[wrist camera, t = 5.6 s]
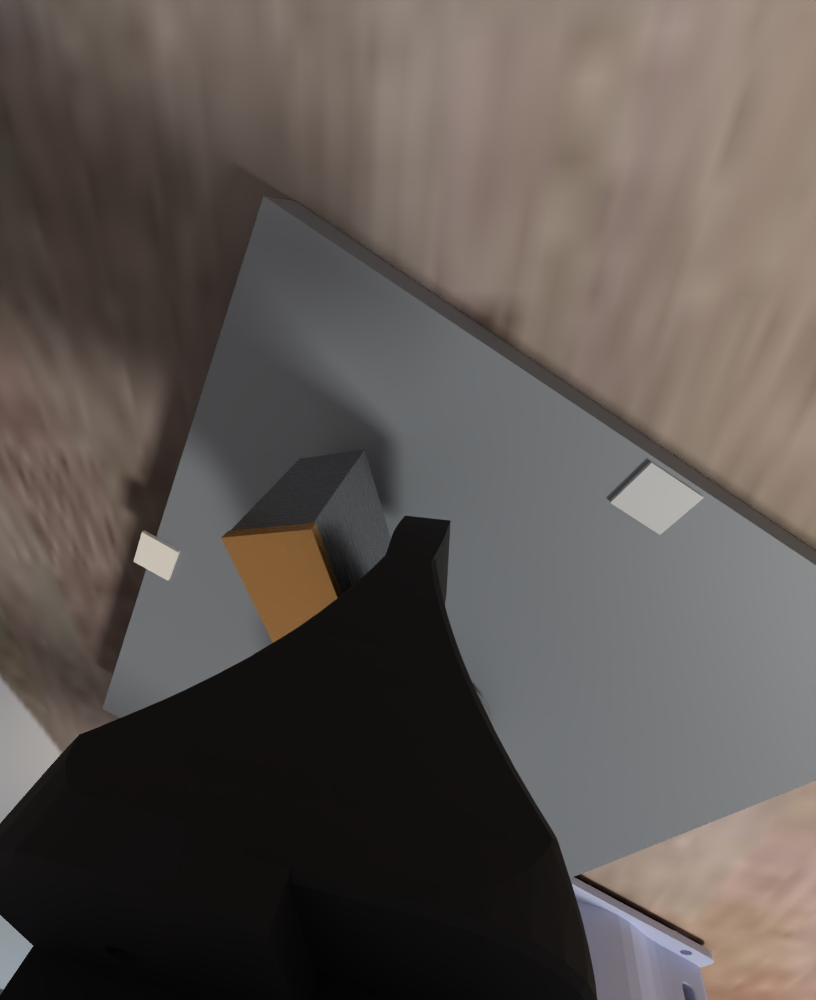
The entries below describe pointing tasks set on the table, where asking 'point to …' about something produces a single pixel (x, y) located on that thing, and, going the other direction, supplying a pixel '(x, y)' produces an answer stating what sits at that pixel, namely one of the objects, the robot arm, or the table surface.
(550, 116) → the table surface
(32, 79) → the table surface
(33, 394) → the table surface
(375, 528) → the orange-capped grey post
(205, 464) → the board
